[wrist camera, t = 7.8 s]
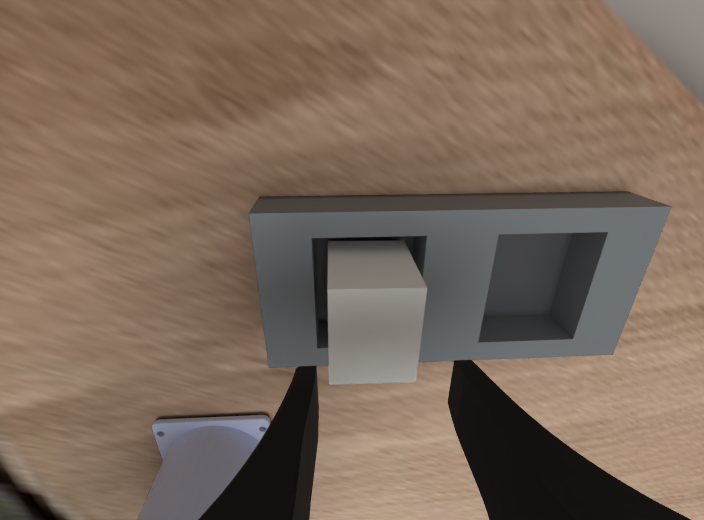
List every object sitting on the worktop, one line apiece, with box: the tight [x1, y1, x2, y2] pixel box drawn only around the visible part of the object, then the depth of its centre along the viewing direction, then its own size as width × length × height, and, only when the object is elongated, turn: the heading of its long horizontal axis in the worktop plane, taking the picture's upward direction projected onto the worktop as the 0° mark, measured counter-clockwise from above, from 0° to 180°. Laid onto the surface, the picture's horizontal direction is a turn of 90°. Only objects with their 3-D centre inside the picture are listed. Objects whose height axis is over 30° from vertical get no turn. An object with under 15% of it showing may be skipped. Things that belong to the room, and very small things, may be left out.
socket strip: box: [249, 192, 672, 368], centre depth 20 cm, size 9×20×3 cm, turn 90°
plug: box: [327, 241, 427, 385], centre depth 18 cm, size 5×4×6 cm
